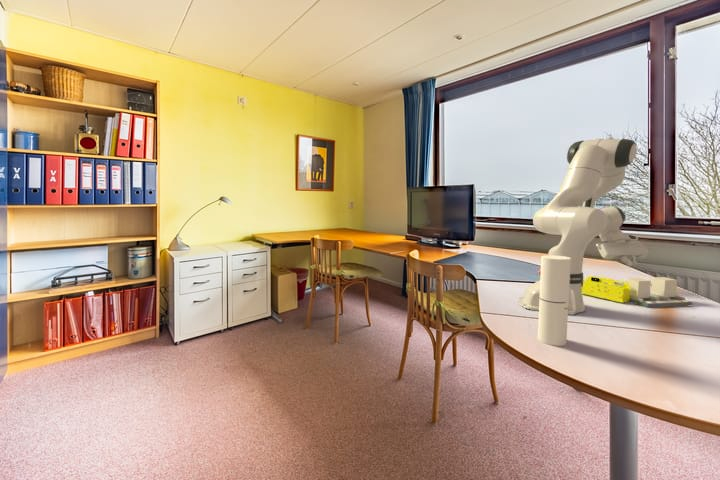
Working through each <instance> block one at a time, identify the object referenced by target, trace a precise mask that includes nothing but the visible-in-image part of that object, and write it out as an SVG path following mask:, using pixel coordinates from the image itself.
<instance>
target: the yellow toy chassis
mask: <svg viewBox="0 0 720 480" xmlns="http://www.w3.org/2000/svg"><path fill="white" fill-rule="evenodd" d="M582 295H586V296H588V297H595V298H599V299H603V300H609V301H612V302H613V303H626V302H628V301H629V297H630V286H629V285H628V284H627V281H625V280H624V281H623V280H619V279H612V278H607V277H601V276H600V277H599V276H595V275H589V276H588V277H587V276H586V278H585V279H583V287H582Z"/></svg>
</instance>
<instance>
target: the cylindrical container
mask: <svg viewBox="0 0 720 480" xmlns="http://www.w3.org/2000/svg"><path fill="white" fill-rule="evenodd" d="M540 256H541V257H540V269H541V275H540V274H539V275H540V277H539V280H540V299H539V311H538V324H537V325H538V328H537V340H539V341H540V342H541V343H543V344H546V345H550V346H555V347H556V346H557V347H563V346H566V345H567V341H568V340H567V338H568V337H567V335H568V322H569V321H568V319H569V318H568V317H569V314H568V303H569V283H570V264H571V258H570V257H565V256H556V255H548V254H547V255H546V254H544V255H540Z"/></svg>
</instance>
